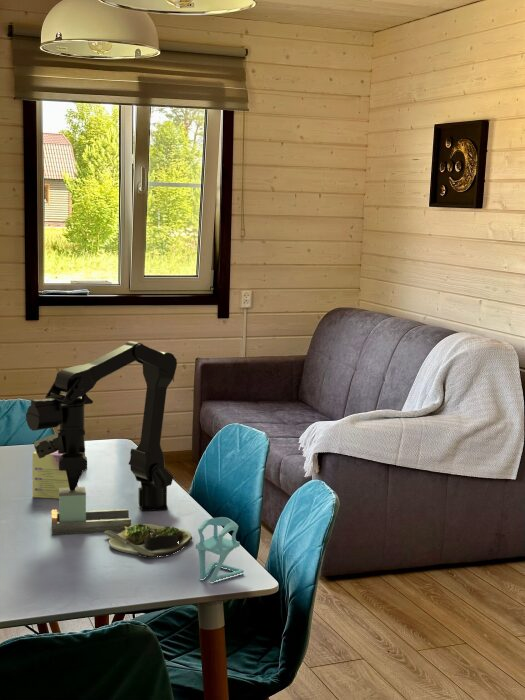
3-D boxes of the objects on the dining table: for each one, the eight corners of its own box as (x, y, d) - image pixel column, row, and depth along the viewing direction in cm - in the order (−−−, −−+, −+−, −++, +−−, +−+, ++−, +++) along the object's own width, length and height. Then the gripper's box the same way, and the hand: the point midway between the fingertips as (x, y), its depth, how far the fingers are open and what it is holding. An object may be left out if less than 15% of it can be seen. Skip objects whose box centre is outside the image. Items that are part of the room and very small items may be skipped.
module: (85, 519, 218) (85, 486, 217) (85, 525, 214) (85, 492, 212) (59, 520, 216) (59, 487, 215) (59, 527, 212) (59, 493, 211)
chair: (190, 578, 188) (190, 522, 186) (214, 565, 194) (214, 511, 192) (220, 587, 183) (221, 530, 181) (244, 574, 190) (245, 518, 188)
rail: (128, 518, 222) (128, 504, 222) (131, 530, 214) (131, 516, 213) (51, 521, 218) (51, 507, 218) (52, 535, 210) (51, 520, 209)
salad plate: (84, 550, 202) (84, 530, 201) (128, 525, 218) (128, 507, 217) (160, 566, 194) (160, 545, 194) (200, 539, 210) (200, 519, 210)
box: (78, 493, 241) (78, 449, 239) (71, 500, 235) (71, 455, 233) (39, 491, 242) (39, 447, 240) (32, 498, 236) (31, 453, 234)
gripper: (36, 416, 219) (37, 479, 221) (35, 435, 201) (36, 503, 203) (84, 415, 221) (84, 477, 223) (87, 433, 203) (87, 501, 205)
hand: (72, 489), depth 214 cm, fingers closed
